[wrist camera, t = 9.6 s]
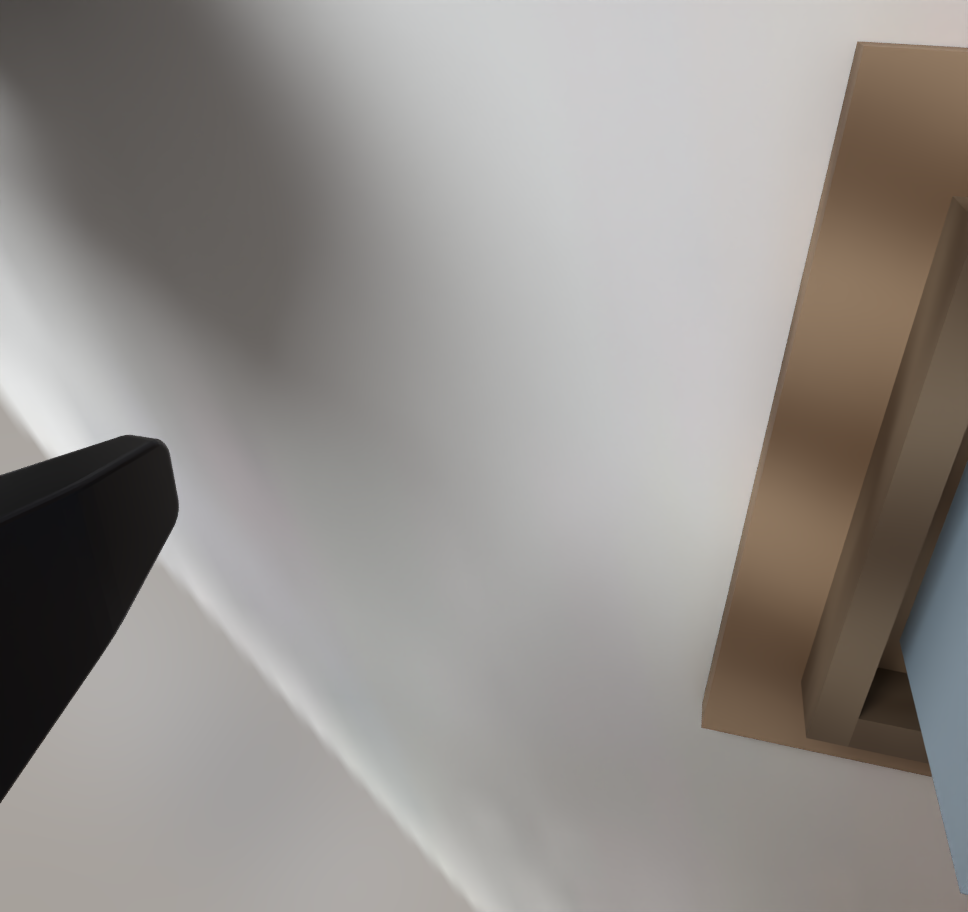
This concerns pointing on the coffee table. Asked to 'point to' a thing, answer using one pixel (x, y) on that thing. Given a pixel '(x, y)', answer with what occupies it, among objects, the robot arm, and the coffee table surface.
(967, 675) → the key block
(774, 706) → the keyed nest
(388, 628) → the coffee table surface
